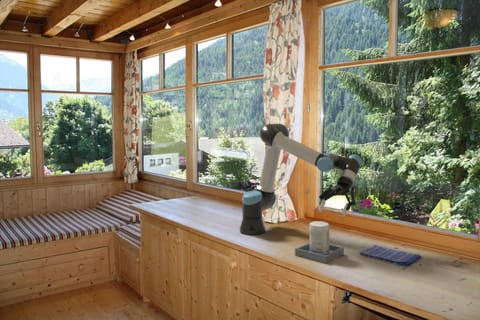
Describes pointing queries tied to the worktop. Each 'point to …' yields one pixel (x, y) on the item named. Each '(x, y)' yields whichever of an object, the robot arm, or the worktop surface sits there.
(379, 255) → the dish towel
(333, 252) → the tray
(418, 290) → the worktop surface
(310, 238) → the supplement tub
